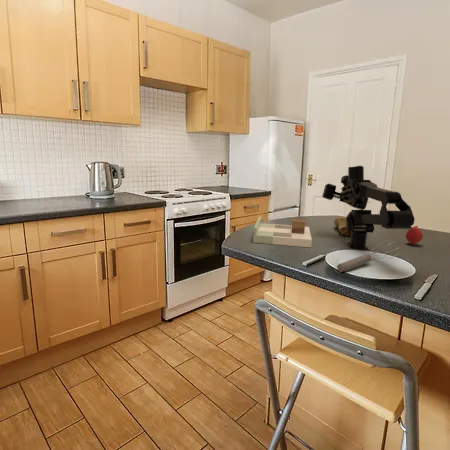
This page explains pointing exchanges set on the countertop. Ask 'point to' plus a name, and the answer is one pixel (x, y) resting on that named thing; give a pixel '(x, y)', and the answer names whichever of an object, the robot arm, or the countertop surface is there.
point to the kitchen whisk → (360, 260)
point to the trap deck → (280, 235)
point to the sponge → (342, 225)
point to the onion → (414, 235)
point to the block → (298, 226)
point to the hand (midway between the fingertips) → (337, 199)
